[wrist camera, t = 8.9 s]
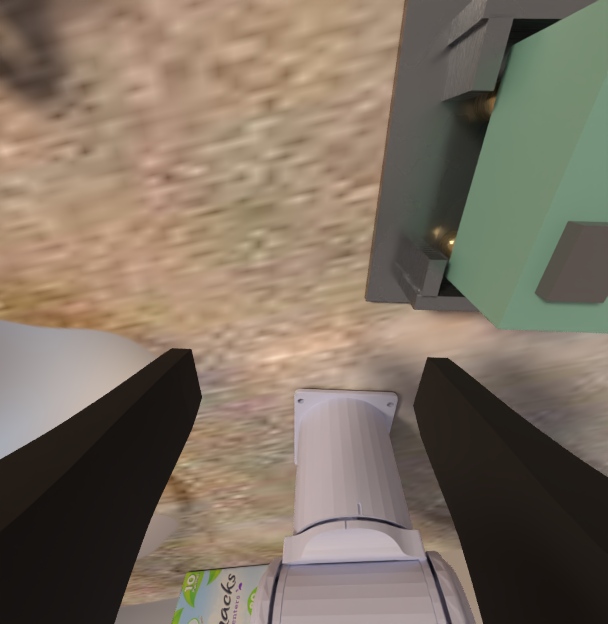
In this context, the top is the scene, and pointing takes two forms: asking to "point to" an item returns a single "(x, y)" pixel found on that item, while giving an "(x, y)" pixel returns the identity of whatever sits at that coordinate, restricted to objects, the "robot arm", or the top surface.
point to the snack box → (218, 596)
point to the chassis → (441, 137)
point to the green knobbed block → (543, 186)
